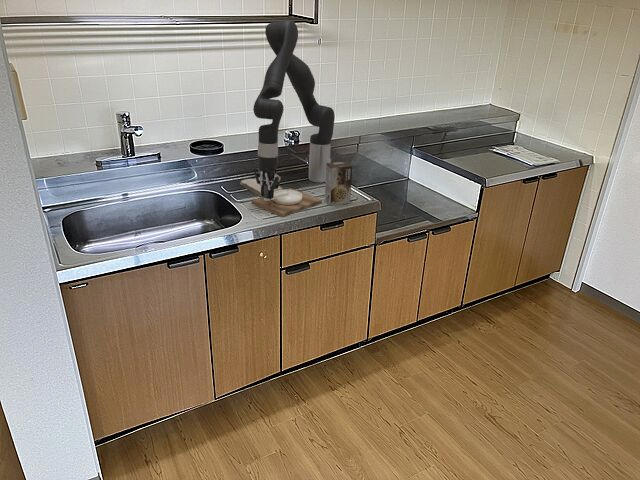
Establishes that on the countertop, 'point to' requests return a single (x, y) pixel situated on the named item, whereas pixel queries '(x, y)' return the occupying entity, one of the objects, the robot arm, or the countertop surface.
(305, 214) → the countertop surface
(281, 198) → the dial
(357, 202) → the countertop surface
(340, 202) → the coffee box
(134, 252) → the countertop surface
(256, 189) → the washcloth
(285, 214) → the dial board
